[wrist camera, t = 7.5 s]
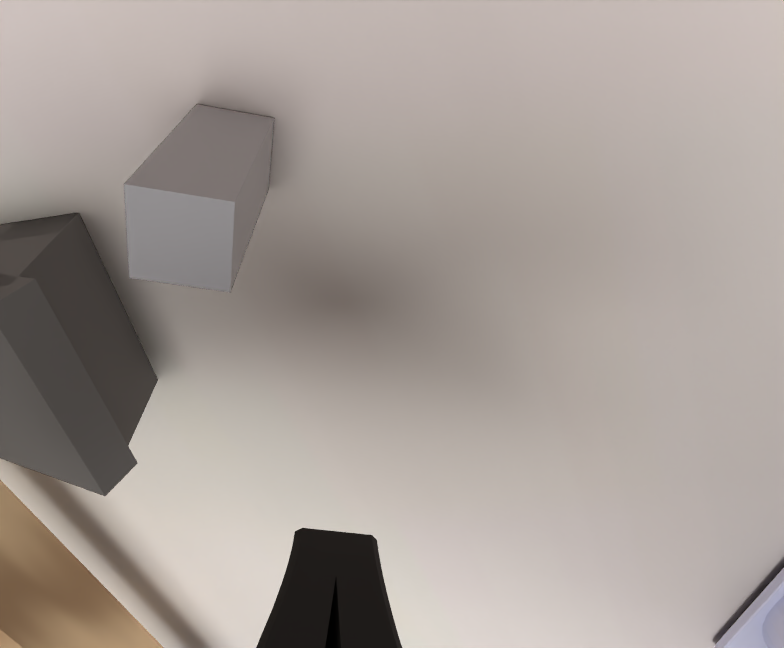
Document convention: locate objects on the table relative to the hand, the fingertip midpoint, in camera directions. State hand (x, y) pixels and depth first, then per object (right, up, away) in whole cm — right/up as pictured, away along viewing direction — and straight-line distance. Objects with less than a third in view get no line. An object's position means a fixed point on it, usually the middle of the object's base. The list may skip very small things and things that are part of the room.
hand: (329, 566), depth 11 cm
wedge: (-9, +4, +5) cm, 11 cm away
